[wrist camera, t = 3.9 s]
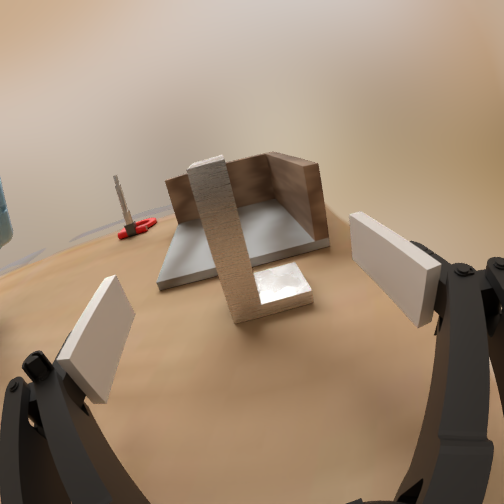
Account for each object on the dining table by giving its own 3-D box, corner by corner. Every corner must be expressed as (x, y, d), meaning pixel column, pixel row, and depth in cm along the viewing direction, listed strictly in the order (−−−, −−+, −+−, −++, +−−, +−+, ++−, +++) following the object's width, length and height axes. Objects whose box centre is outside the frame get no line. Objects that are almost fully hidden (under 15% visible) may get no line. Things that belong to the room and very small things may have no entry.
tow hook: (129, 229, 60) (115, 242, 51) (113, 177, 55) (96, 182, 46) (160, 219, 60) (150, 231, 51) (145, 165, 55) (132, 168, 46)
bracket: (234, 323, 21) (186, 169, 16) (230, 290, 25) (192, 162, 20) (313, 302, 21) (287, 145, 16) (296, 273, 26) (271, 143, 20)
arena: (159, 290, 28) (129, 213, 25) (181, 226, 48) (166, 179, 45) (329, 245, 29) (318, 163, 25) (282, 199, 49) (272, 151, 45)
